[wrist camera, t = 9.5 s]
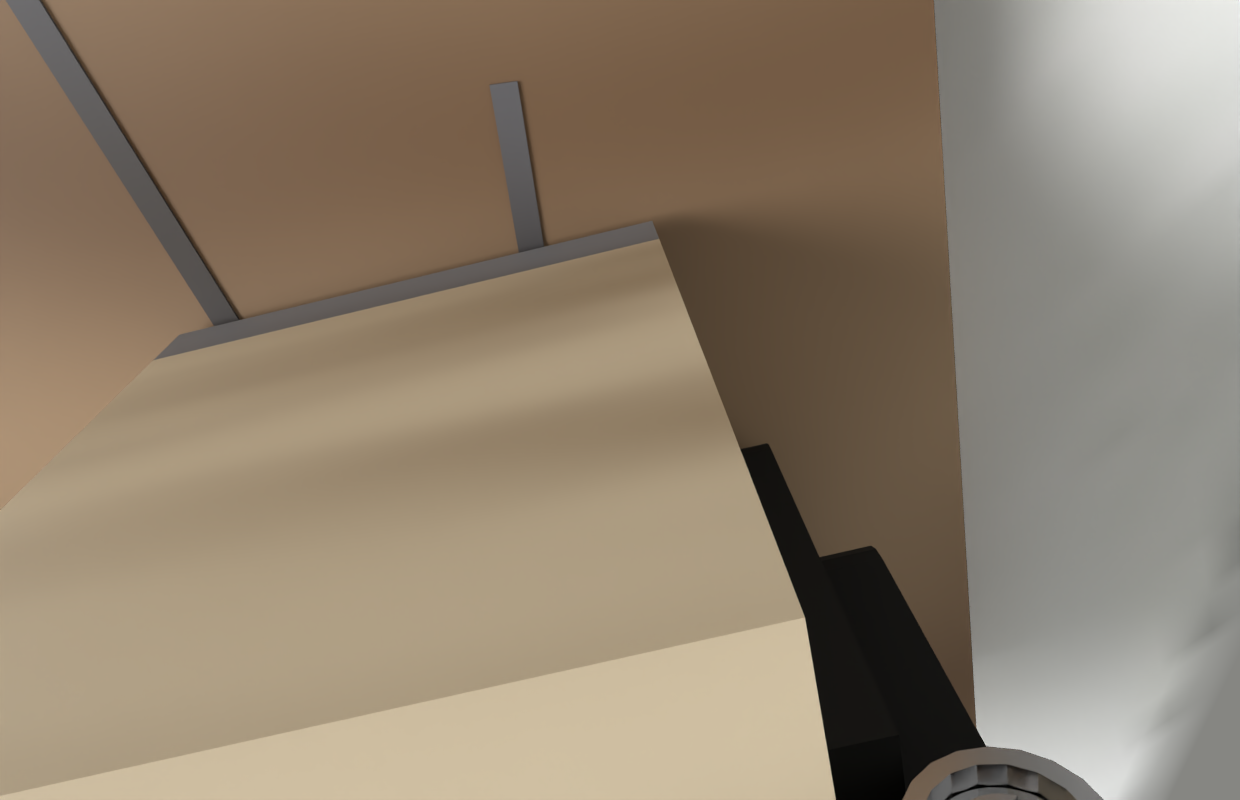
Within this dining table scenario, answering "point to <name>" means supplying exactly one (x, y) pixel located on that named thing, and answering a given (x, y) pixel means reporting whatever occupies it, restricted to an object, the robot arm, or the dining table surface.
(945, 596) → the board
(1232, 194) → the dining table surface
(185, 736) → the block
